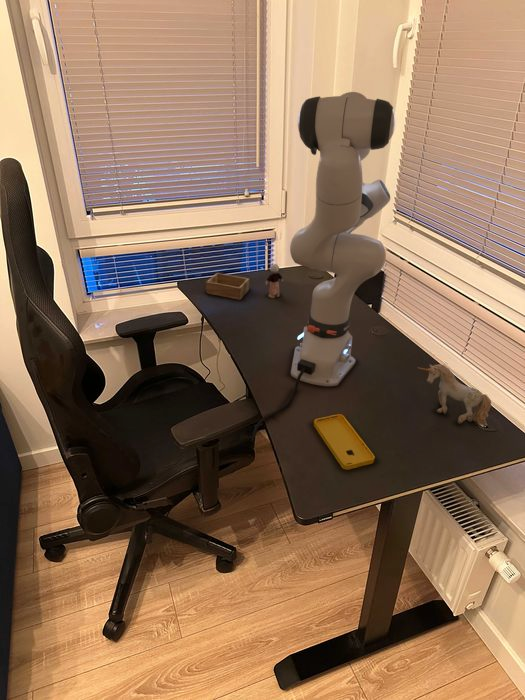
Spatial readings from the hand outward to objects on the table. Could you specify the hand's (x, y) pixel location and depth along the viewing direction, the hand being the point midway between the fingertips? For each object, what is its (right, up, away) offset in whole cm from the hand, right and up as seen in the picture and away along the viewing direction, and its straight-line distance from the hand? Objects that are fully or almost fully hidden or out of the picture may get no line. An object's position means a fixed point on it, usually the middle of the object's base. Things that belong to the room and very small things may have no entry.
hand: (314, 243), depth 172 cm
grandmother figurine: (-14, -17, +16) cm, 27 cm away
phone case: (+1, -59, -52) cm, 78 cm away
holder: (-31, -14, +18) cm, 38 cm away
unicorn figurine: (+29, -55, -43) cm, 75 cm away
